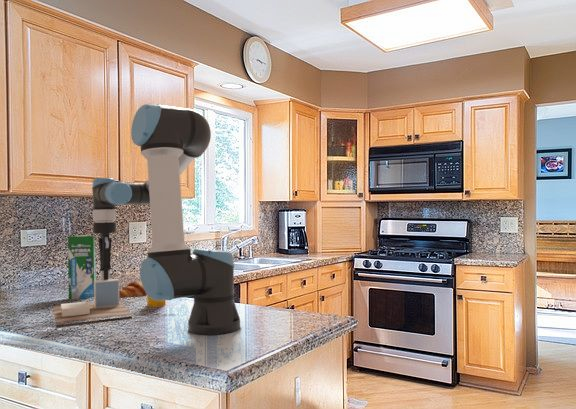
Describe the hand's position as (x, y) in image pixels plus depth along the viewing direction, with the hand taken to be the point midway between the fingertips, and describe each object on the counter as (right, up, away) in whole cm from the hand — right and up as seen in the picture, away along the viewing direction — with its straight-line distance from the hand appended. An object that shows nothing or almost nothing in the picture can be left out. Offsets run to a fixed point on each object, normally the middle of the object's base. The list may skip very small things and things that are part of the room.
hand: (105, 288), depth 169 cm
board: (-2, -7, -9) cm, 11 cm away
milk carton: (-16, -8, +19) cm, 26 cm away
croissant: (+6, -8, +21) cm, 23 cm away
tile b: (+1, -6, -3) cm, 6 cm away
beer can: (+18, -7, -1) cm, 20 cm away
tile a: (-7, -4, -9) cm, 12 cm away
